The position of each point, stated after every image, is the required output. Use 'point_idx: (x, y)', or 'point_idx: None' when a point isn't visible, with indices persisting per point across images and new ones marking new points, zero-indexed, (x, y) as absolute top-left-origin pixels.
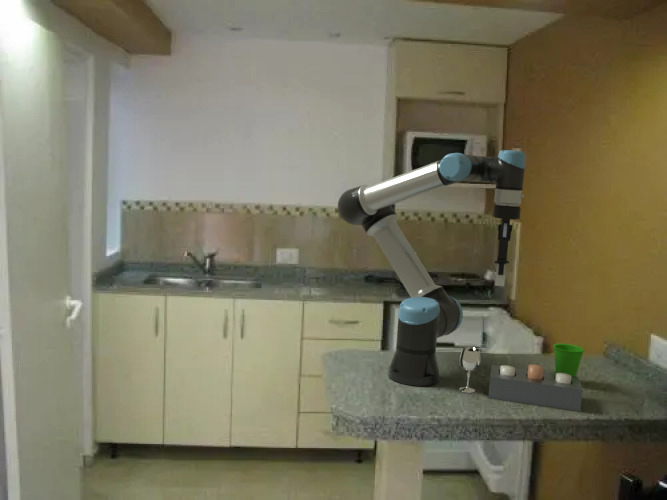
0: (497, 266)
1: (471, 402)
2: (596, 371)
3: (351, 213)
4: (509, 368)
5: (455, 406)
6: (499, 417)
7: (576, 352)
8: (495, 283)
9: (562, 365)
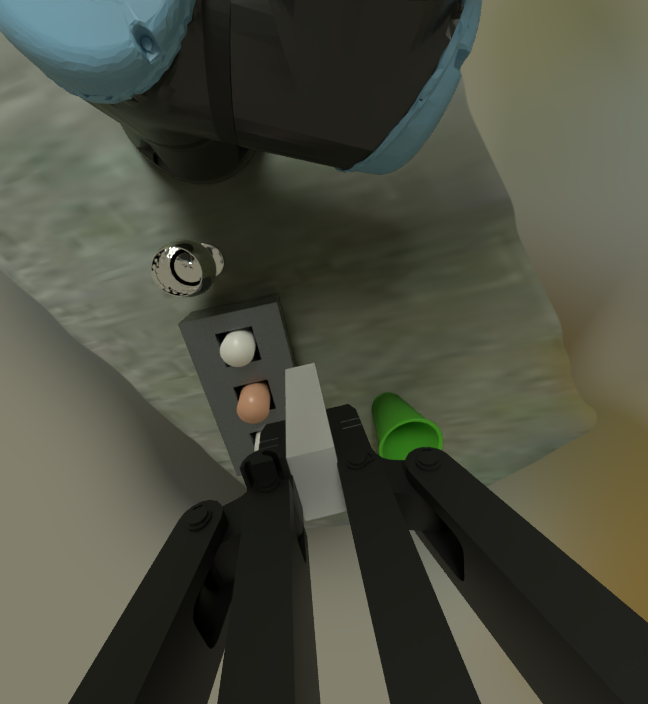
0: (288, 446)
1: (137, 290)
2: (486, 434)
3: None
4: (231, 356)
5: (84, 268)
6: (101, 355)
7: None
8: (285, 378)
9: (377, 422)
